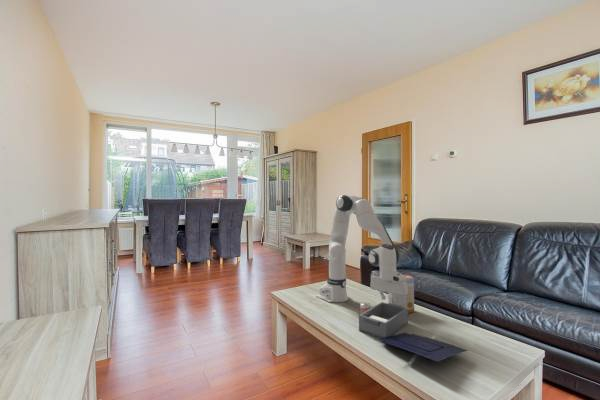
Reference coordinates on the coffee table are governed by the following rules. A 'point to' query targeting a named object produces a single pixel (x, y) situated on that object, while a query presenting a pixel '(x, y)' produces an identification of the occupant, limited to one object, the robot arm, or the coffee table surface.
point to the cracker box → (405, 300)
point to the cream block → (378, 318)
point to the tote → (381, 329)
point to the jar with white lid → (364, 307)
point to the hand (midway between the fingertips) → (388, 300)
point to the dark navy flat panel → (423, 346)
